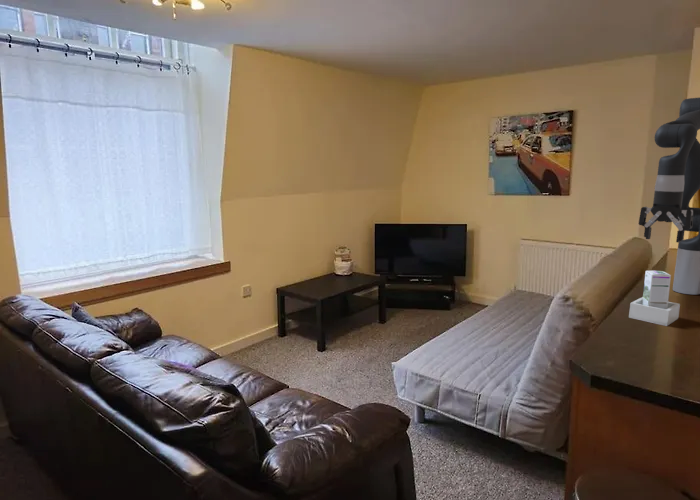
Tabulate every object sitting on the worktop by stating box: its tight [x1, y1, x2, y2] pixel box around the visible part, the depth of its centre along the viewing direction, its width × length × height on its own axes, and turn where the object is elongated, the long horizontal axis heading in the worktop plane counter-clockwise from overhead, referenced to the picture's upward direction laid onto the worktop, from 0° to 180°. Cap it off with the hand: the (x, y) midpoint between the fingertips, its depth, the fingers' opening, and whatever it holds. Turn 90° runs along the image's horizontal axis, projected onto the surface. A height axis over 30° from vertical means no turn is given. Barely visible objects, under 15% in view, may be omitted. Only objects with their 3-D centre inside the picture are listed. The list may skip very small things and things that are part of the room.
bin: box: [628, 296, 681, 327], centre depth 154 cm, size 11×11×5 cm
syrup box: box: [642, 270, 672, 309], centre depth 154 cm, size 6×6×14 cm
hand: (662, 240), depth 150 cm, fingers open, 8 cm apart
